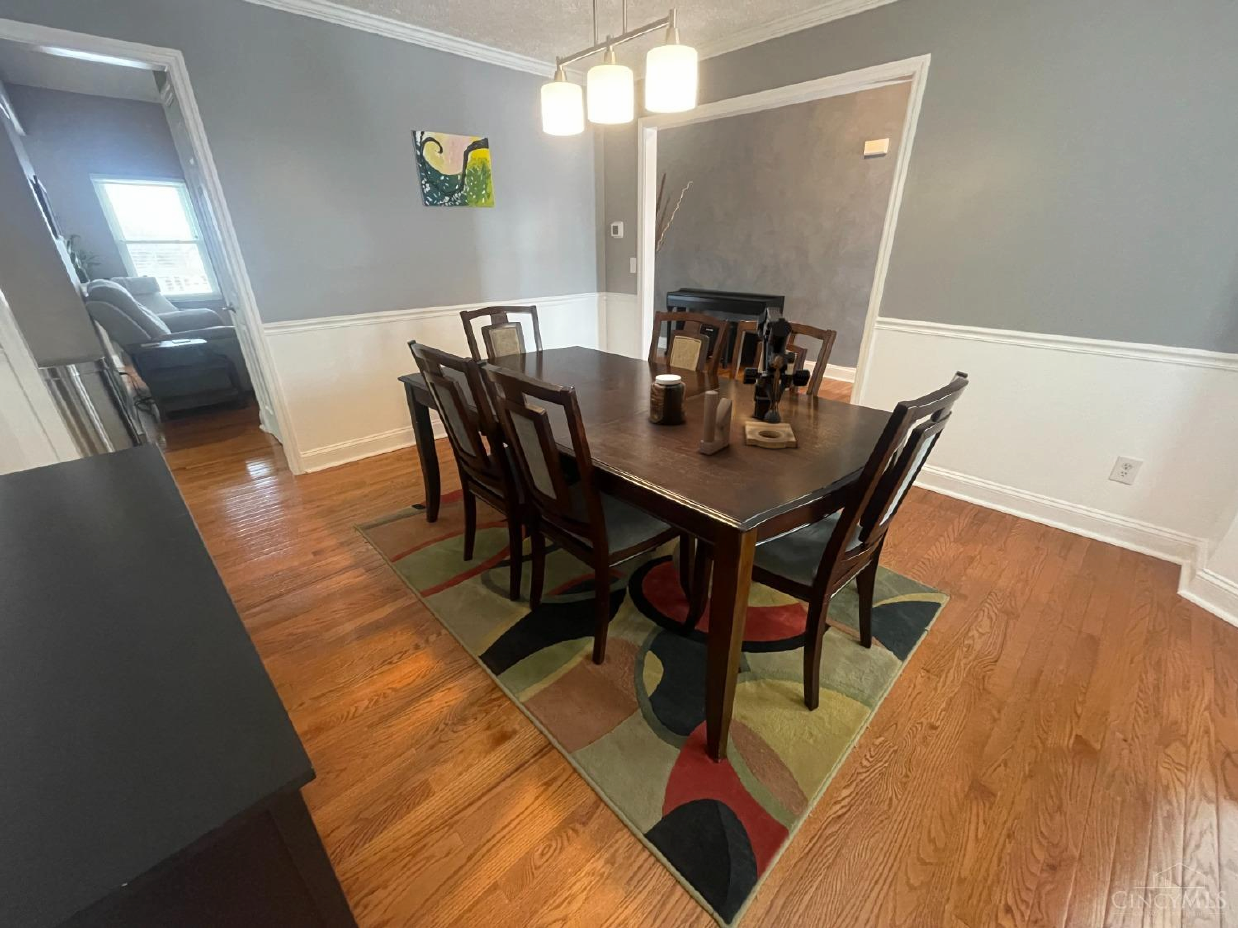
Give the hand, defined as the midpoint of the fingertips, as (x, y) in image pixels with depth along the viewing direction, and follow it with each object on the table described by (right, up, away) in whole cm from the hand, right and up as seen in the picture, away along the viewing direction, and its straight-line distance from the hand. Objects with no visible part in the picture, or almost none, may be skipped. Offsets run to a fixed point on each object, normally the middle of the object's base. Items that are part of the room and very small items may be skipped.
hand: (775, 402), depth 144 cm
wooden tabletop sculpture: (0, -6, +4) cm, 7 cm away
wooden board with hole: (+1, -10, +10) cm, 14 cm away
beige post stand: (-18, -14, +2) cm, 22 cm away
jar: (-29, -3, +26) cm, 40 cm away
